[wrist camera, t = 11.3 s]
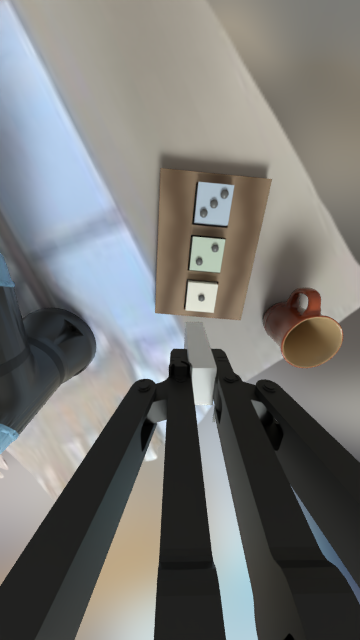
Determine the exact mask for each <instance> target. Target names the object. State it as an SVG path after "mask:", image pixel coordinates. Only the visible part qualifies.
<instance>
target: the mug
mask: <svg viewBox="0 0 360 640" xmlns="http://www.w3.org/2000/svg"><path fill="white" fill-rule="evenodd" d="M302 294H305V295H306V296H307V297H308V307H307V309H306V310H305V309H304V308H302V307H301V306H300V305H299V299H300V296H301V295H302ZM320 306H321V297H320V294H319V293H318V291H316V290H315V289H312V288H306V287H305V288H298V289H296V290H294V291H293V292H292V294H291V295H290V297H289V299H288V300H287V302H281V303H277V304H275V305H273V306H272V307H270V308H269V309H268V310H267V312H266V313H265V315H264V318H263V325H264V328H265V330H266V332H267V334H268V335H269V336H270V337H271V338H272V339H273V340H274V341H275V342H276V343H277V344H278V345H279V346H280V349H281V352H282V355H283V357H284V359H285V360H286V361H287V362H288V363H289V364H291V365H293V366H295V367H299V368H311V367H316V366H319V365H321V364H323V363H325V362H327V361H328V360H329V359H331V358H332V357H333V356H334V355H335V354H336V353H337V352H338V350H339V348H340V347H341V344H342V341H343V331H342V328H341V326H340V325H339V323H338V322H337V321H335V320H334V319H332V318H331V317H328V316H323V315H321V308H320Z"/></svg>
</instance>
